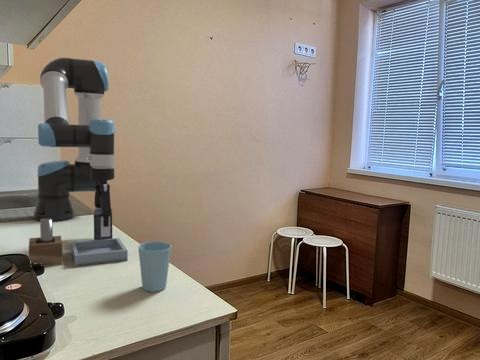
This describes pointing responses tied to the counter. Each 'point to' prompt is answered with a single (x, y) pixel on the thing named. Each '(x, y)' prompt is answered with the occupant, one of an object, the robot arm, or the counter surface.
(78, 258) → the tray
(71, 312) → the counter surface
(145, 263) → the cup
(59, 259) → the wooden slotted block
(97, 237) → the box
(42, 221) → the pin gauge
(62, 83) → the robot arm
